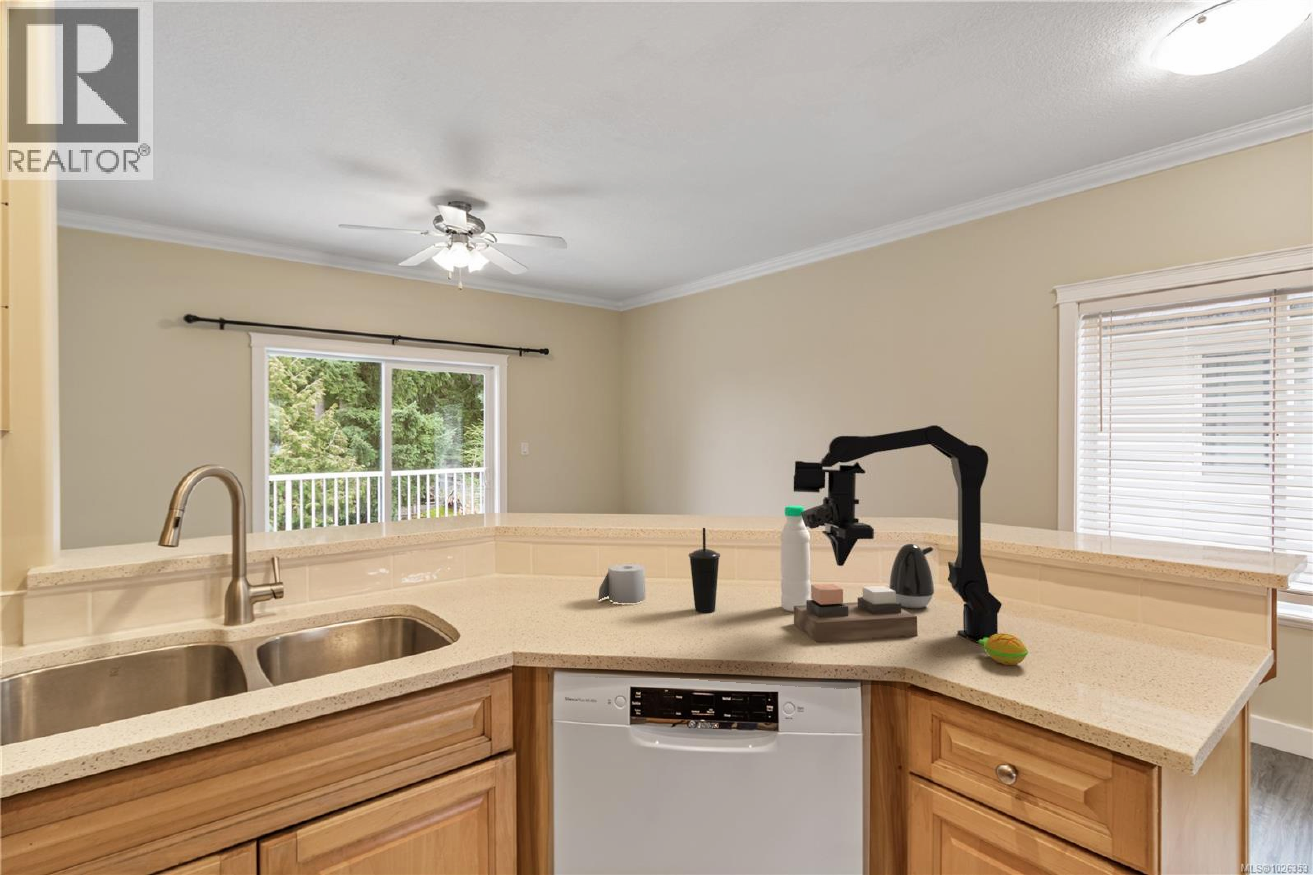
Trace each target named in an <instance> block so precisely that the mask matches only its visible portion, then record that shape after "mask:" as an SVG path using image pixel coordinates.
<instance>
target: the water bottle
mask: <svg viewBox="0 0 1313 875" xmlns="http://www.w3.org/2000/svg"><path fill="white" fill-rule="evenodd" d="M805 510H806V509H805V507H804V506H802V505H787V506H786V507H785V508H784V516H785V518H786V521H785V524H784V526H783V529H782V530H781V533H780V536H779V537H780V542H781V544H780V573H781V582H780V587H781V595H780V596H781V597H780V599H781V600H780V601H781V602H780V605H781V608H782V609H783V610H785V611H787V612H793V613H794V606H800V605H806V600H812V599H811V580H810V576H811V551H810V549H811V548H810V540H811V536H810V535H811V534H810V533H809V531H808V529H807V527H806V526H805V524H804V521H803V518H802V515H801V512H803V511H805Z"/></svg>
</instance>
